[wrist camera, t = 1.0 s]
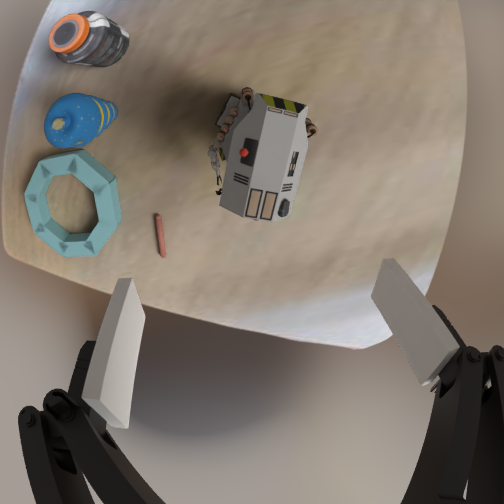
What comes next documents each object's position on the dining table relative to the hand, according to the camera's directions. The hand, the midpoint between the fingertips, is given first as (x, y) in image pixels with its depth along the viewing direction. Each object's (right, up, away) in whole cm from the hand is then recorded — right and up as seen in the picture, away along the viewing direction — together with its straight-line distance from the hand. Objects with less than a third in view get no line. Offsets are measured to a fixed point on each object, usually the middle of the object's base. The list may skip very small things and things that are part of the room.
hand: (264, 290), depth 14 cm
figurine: (-1, +16, +18) cm, 24 cm away
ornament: (-18, +19, +13) cm, 29 cm away
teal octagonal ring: (-26, +9, +19) cm, 33 cm away
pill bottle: (-18, +27, +8) cm, 34 cm away
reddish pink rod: (-13, +4, +24) cm, 28 cm away
